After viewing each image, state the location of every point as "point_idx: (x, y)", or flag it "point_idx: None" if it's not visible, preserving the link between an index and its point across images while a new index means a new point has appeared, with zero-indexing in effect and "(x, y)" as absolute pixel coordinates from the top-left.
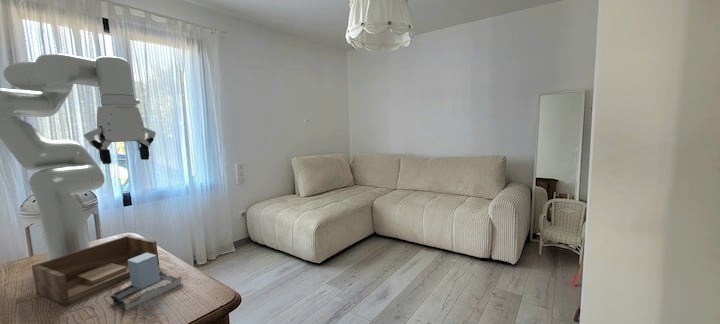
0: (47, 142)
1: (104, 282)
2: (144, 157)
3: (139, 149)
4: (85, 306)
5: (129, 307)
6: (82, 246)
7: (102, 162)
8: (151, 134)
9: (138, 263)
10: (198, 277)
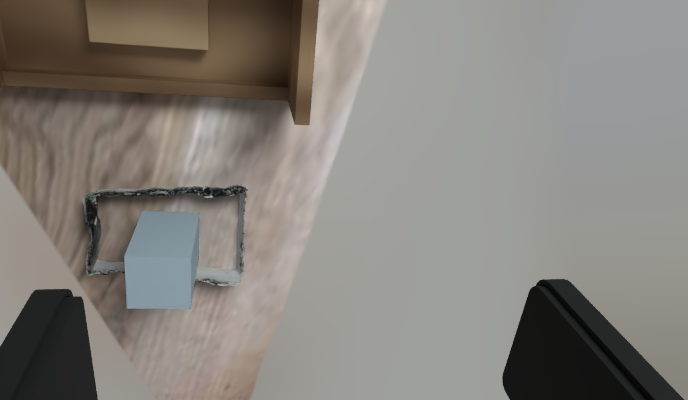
0: None
1: (113, 90)
2: (520, 375)
3: (625, 396)
4: (41, 137)
5: (104, 263)
6: None
7: (33, 294)
8: None
9: (131, 307)
10: (280, 282)
